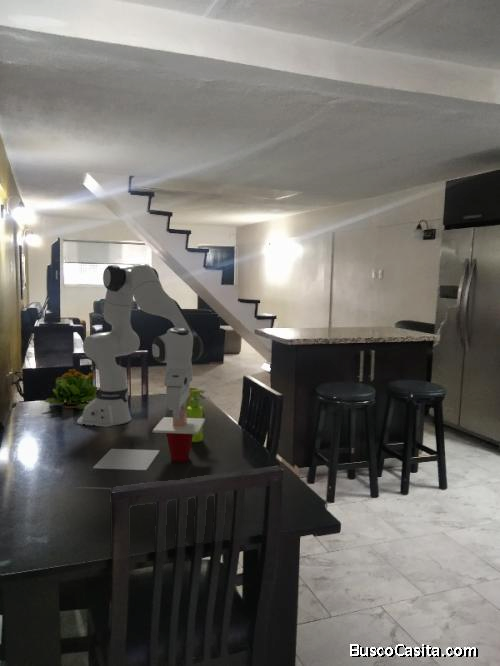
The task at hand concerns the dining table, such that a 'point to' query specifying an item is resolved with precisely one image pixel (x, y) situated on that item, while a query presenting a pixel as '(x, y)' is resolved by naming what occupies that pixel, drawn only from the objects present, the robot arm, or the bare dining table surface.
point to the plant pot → (191, 397)
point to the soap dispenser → (196, 413)
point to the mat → (127, 459)
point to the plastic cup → (179, 446)
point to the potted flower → (74, 390)
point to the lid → (179, 424)
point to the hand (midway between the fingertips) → (179, 415)
